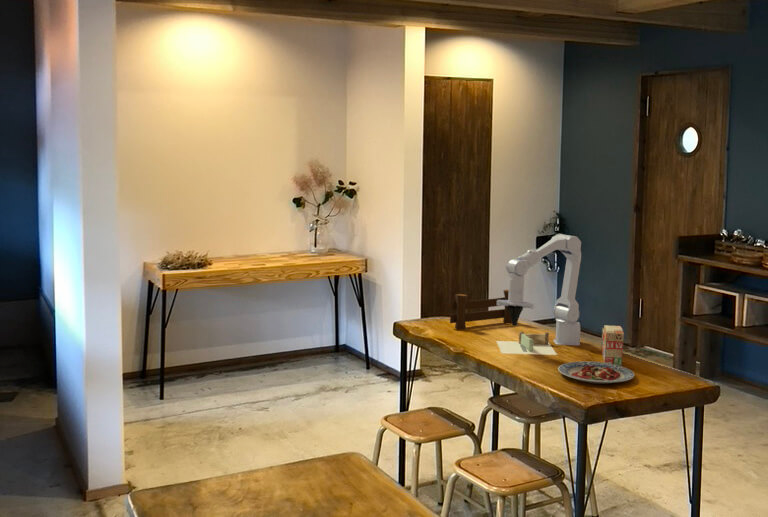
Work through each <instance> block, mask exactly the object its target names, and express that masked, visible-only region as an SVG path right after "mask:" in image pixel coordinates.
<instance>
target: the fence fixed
mask: <svg viewBox="0 0 768 517" xmlns="http://www.w3.org/2000/svg"><path fill="white" fill-rule="evenodd" d="M521 334H525V335H526V336H527V337H528V338H530V339H533V344H545V345H548V342H549V336H550V335H549V332H544V333H525V332H523V331H519V332H518V342H519V344H521Z"/></svg>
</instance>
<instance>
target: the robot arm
mask: <svg viewBox="0 0 768 517" xmlns="http://www.w3.org/2000/svg"><path fill="white" fill-rule="evenodd" d="M581 247H582V241H581V239H579V237H578V236H575V235H570V234H569V235H567V234H563V233H556V234H555V235H554V236H552V237H551V239H550V240H548V241H547V242H546V243H544V244H543V245H541V246H540V247H538V248H537V249H528V250H527V251H526V253H524V254H522V255H519V256H518V257H517V258H515V259H513V258H512V259H511V260H509V261H508V263H507V266H505V269H506V272H507V273H508V274H507V275H508V290H509V294H508V300H497V305H498V306H497V307H499V305H502V306H503V307H505V306H508V308H507V309H508V312H509V314H510V316H511V320H512V324H511V325H512V327H513V326H514V327H516V326H517V325H518V323H519V322H518V321H519V318H520V316H521V314H522V311H523V310H524V308H525V309H531V310H533V309H535V305H536V303H535V302H529V301H524V290H525V288H524V286H525V285H524V284H525V275H526V274H527V273H528V270H529V269H531V268H532V267H534V266H535V265H537V264H539V263H540V262H541V258H543V257H545V256H547V255H548V254H550V253H553V252H554V251H559V252H561V253H562V254H563V255H564V257H565V258H566V260H565V261H566V262H565V267H564V268H565V269H564V275H563V281H562V287H561V292H560V293H561V295H560V297H559V298H557V299H556V301H555V305H554V307H553V310H552V315H553V317H554V318H555V321H556V324H555V325H556V326H555V339H552V340H553V342H554V344H555V345H557V346H558V345H560V346H581V344H580V342H581V323H580V322H579V321H578V320H579V318H580V310H579V308H580V305H579V302H577V299H576V293H577V288H578V280H579V274H580V268H581V262H582V251H581ZM502 306H501V307H502Z"/></svg>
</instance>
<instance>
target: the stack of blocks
mask: <svg viewBox="0 0 768 517" xmlns="http://www.w3.org/2000/svg"><path fill="white" fill-rule="evenodd" d="M624 336H625V333H624V330H623V328H622V326H621V325H606V324H604V326H603V327H601V347H600V350H601V356H602V357H603V363H609V364H614V365H618V366H623V352H624V351H623V350H624V339H625V338H624Z"/></svg>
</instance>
